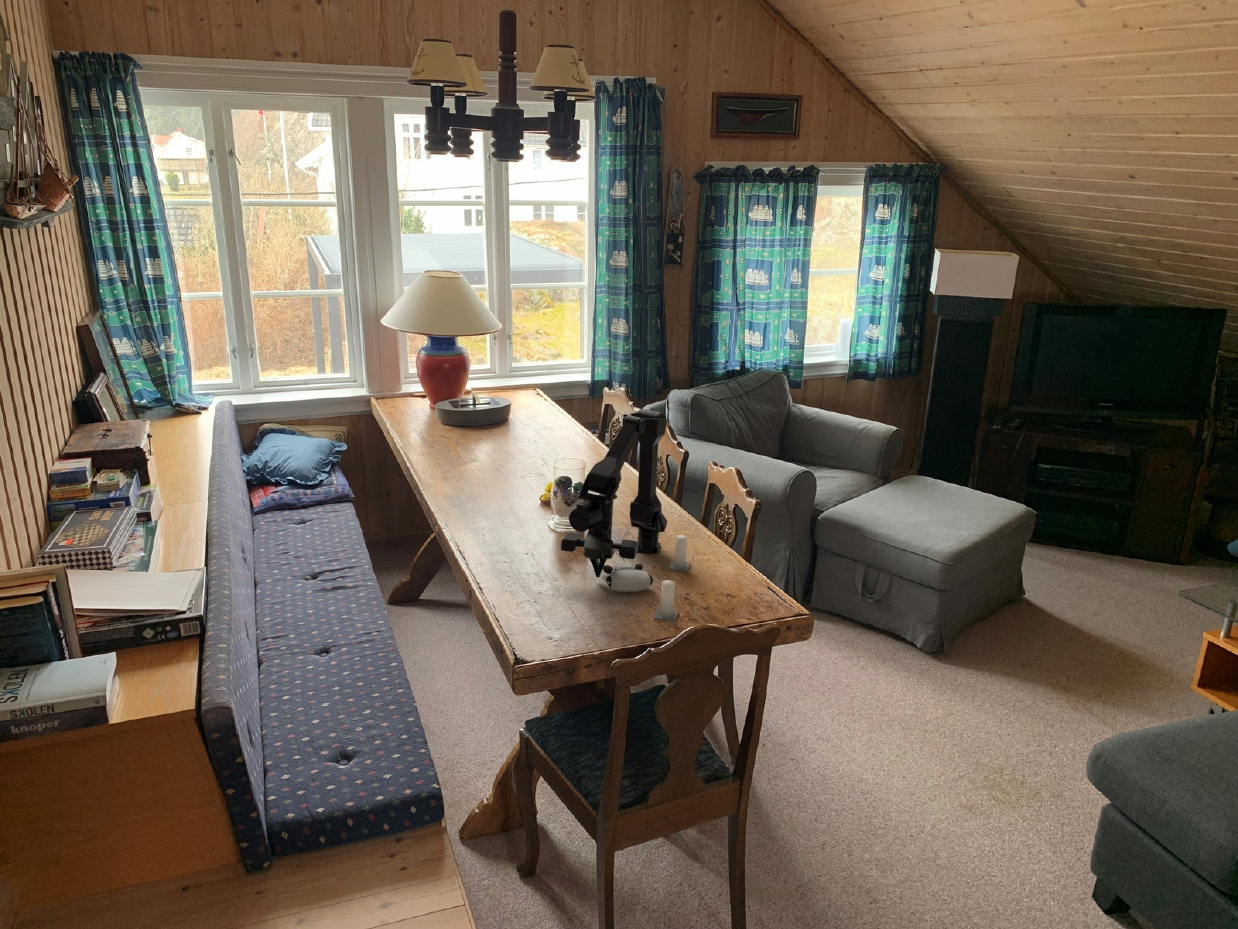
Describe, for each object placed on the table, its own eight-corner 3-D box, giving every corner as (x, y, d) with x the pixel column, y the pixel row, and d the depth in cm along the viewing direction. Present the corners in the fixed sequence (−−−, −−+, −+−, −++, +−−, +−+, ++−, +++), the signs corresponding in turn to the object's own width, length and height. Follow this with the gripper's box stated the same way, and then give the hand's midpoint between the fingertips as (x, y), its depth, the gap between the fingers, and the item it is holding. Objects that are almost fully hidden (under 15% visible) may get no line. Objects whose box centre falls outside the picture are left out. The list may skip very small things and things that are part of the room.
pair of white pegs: (671, 562, 238) (673, 532, 235) (689, 564, 237) (692, 534, 234) (654, 619, 207) (656, 586, 204) (675, 622, 206) (677, 588, 203)
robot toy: (597, 576, 230) (607, 598, 216) (598, 559, 229) (608, 581, 215) (644, 574, 232) (657, 596, 218) (644, 558, 231) (657, 579, 217)
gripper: (555, 526, 213) (554, 585, 218) (632, 535, 210) (628, 595, 215) (567, 510, 224) (565, 567, 229) (640, 519, 221) (636, 576, 226)
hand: (598, 576), depth 224 cm, fingers closed
